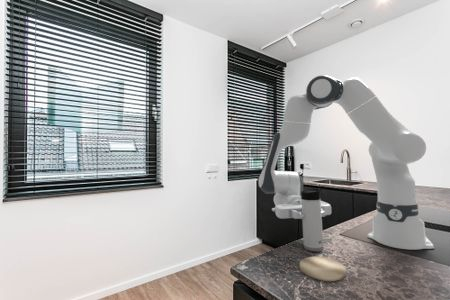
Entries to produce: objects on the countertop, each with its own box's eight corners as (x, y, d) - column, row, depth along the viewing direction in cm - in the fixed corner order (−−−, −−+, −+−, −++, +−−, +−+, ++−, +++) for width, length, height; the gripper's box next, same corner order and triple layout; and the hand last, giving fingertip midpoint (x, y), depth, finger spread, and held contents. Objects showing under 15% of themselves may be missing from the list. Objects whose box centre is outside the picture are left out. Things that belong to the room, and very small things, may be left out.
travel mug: (326, 251, 75) (322, 190, 75) (305, 251, 76) (301, 190, 77) (322, 244, 81) (319, 187, 82) (302, 243, 82) (299, 187, 83)
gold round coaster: (308, 256, 73) (308, 253, 73) (350, 267, 66) (350, 263, 66) (292, 271, 64) (292, 268, 64) (339, 286, 56) (339, 282, 56)
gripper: (269, 200, 90) (283, 208, 77) (318, 197, 93) (339, 203, 79) (270, 216, 90) (284, 227, 77) (319, 212, 93) (341, 222, 79)
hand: (312, 215), depth 78 cm, fingers closed on travel mug, 6 cm apart
